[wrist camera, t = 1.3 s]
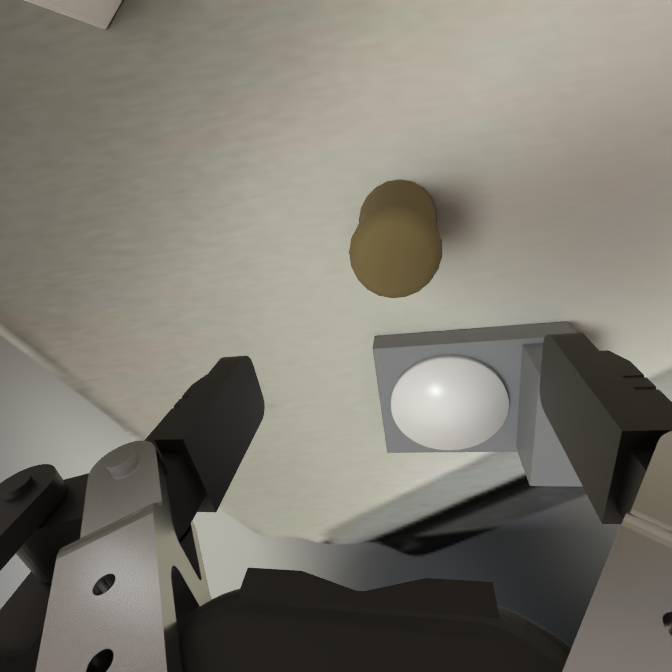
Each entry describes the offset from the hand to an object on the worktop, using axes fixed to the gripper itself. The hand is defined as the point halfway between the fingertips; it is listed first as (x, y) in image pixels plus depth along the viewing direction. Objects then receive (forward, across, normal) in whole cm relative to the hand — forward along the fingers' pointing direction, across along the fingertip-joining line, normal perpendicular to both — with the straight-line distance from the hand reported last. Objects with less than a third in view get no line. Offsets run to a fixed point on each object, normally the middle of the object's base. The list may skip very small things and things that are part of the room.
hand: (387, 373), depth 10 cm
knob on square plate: (+22, -5, +16) cm, 27 cm away
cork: (+22, 0, 0) cm, 22 cm away
